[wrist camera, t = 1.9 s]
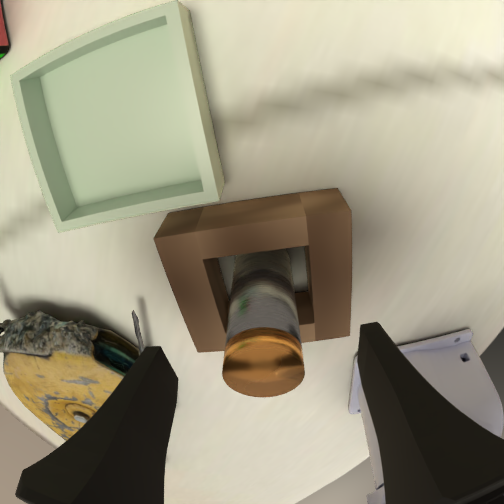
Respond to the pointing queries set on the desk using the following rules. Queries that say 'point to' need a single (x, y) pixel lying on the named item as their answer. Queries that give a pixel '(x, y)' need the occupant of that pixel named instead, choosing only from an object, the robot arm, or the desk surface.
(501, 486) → the robot arm
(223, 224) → the brown wooden square frame
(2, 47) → the puzzle cube
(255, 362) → the copper topped cylinder
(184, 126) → the tray
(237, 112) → the desk surface
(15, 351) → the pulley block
